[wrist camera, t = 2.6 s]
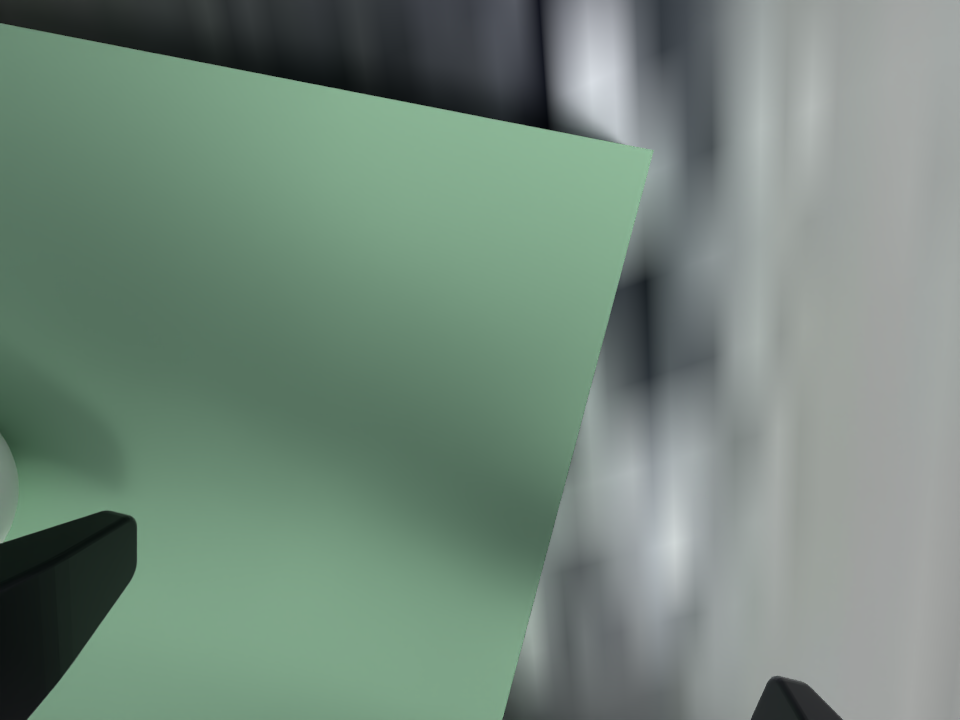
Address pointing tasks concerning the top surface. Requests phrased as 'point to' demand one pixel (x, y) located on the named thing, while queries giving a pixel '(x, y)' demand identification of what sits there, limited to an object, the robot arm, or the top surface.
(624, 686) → the top surface
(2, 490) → the ball
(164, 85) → the green slab with hole
